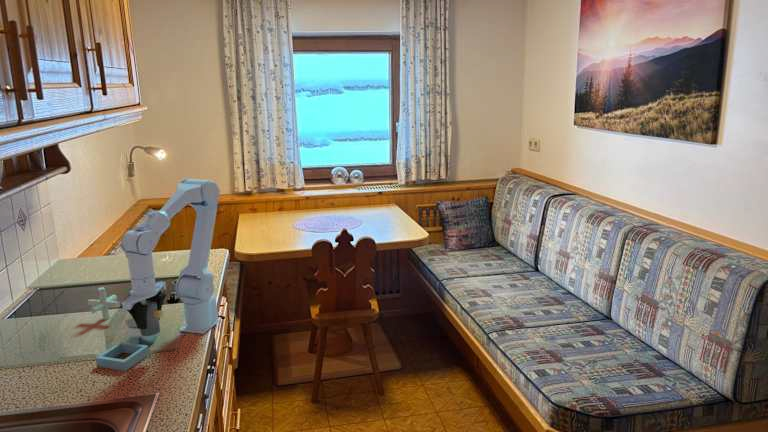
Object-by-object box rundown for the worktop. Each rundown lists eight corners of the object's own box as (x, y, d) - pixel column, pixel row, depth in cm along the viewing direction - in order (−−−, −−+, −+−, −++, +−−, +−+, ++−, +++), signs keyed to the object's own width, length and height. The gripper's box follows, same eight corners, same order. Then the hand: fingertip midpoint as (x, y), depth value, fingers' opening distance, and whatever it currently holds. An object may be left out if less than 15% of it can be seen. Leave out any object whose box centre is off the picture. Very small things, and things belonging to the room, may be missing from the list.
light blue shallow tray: (122, 349, 154) (120, 341, 153) (149, 354, 151) (148, 345, 150) (97, 366, 145) (95, 357, 145) (125, 371, 143) (124, 362, 142)
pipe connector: (109, 326, 168) (104, 295, 165) (80, 324, 170) (75, 293, 167) (130, 312, 177) (126, 283, 175) (103, 310, 179) (98, 281, 177)
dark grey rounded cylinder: (148, 326, 152) (145, 299, 150) (169, 329, 150) (166, 301, 148) (136, 334, 147) (132, 306, 145) (158, 337, 145) (154, 309, 143)
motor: (145, 332, 164) (142, 311, 162) (166, 334, 162) (163, 313, 160) (118, 349, 154) (115, 327, 152) (140, 352, 152) (137, 330, 150)
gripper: (148, 265, 153) (154, 311, 156) (109, 284, 139) (116, 334, 143) (170, 267, 151) (176, 313, 154) (132, 287, 137) (140, 337, 141)
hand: (149, 324), depth 148 cm, fingers closed on dark grey rounded cylinder, 5 cm apart
